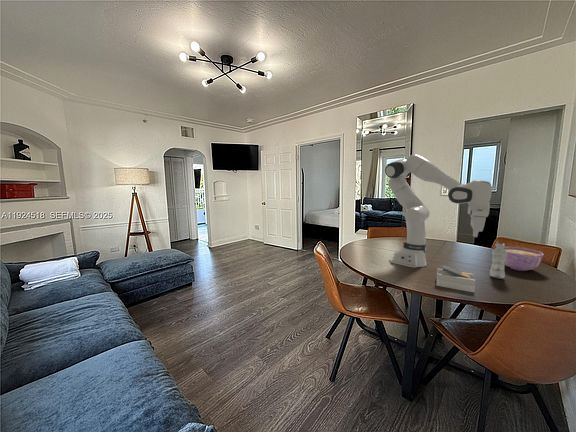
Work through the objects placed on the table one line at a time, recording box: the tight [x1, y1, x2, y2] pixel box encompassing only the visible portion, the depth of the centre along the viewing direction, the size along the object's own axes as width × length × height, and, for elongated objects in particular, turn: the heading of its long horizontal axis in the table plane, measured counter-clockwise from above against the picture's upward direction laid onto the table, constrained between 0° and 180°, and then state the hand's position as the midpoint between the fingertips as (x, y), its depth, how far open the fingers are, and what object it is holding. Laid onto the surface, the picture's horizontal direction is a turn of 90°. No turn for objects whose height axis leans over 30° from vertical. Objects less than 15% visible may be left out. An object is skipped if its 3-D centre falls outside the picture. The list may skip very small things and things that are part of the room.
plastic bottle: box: [489, 242, 507, 279], centre depth 134 cm, size 6×7×20 cm
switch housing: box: [435, 268, 476, 293], centre depth 126 cm, size 16×12×6 cm
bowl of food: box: [504, 246, 544, 272], centre depth 148 cm, size 20×20×12 cm
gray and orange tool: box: [441, 264, 470, 279], centre depth 125 cm, size 12×6×2 cm, turn 58°
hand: (474, 236), depth 127 cm, fingers closed
